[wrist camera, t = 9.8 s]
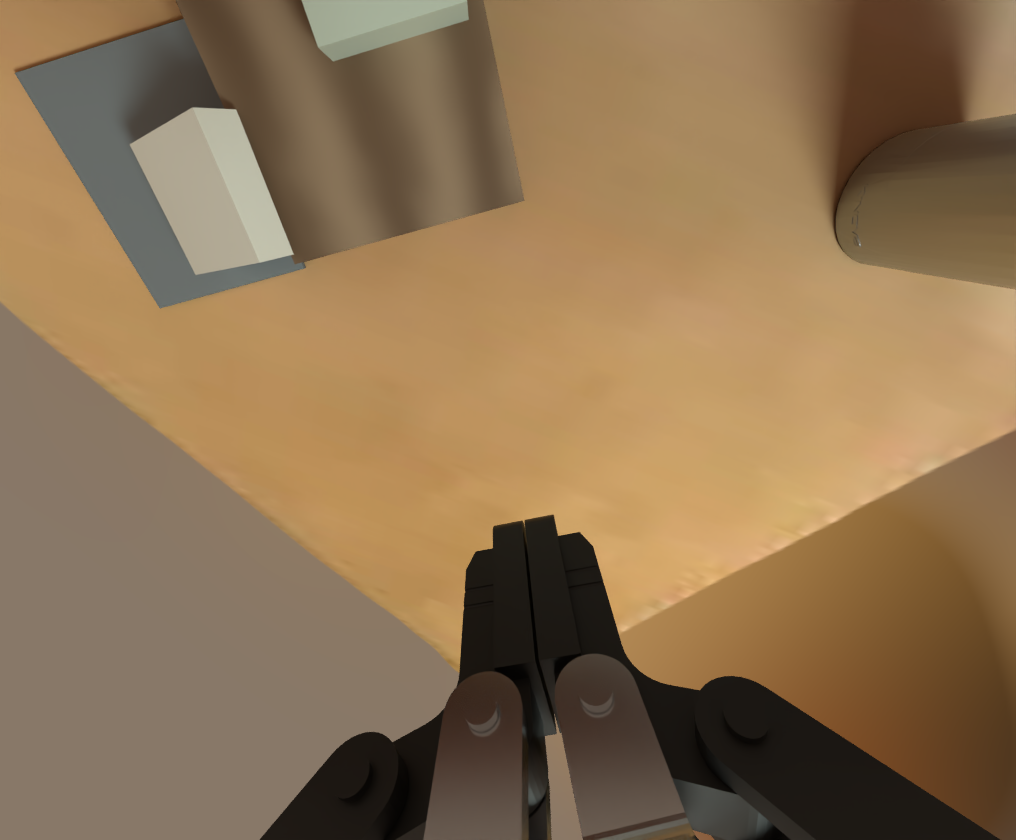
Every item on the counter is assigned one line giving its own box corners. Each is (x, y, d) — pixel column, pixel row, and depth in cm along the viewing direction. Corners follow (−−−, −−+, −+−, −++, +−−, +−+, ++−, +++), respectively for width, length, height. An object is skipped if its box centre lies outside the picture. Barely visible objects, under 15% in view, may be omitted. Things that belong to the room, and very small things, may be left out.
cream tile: (236, 109, 25) (192, 107, 23) (293, 254, 29) (259, 262, 27) (171, 143, 29) (129, 144, 27) (228, 267, 33) (195, 274, 31)
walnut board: (444, -156, 24) (438, -220, 20) (519, 200, 32) (524, 200, 28) (176, -66, 25) (125, -111, 21) (315, 257, 33) (294, 264, 29)
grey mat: (195, 17, 26) (192, 15, 26) (306, 267, 33) (304, 268, 33) (19, 74, 27) (14, 72, 27) (162, 307, 34) (159, 308, 34)
